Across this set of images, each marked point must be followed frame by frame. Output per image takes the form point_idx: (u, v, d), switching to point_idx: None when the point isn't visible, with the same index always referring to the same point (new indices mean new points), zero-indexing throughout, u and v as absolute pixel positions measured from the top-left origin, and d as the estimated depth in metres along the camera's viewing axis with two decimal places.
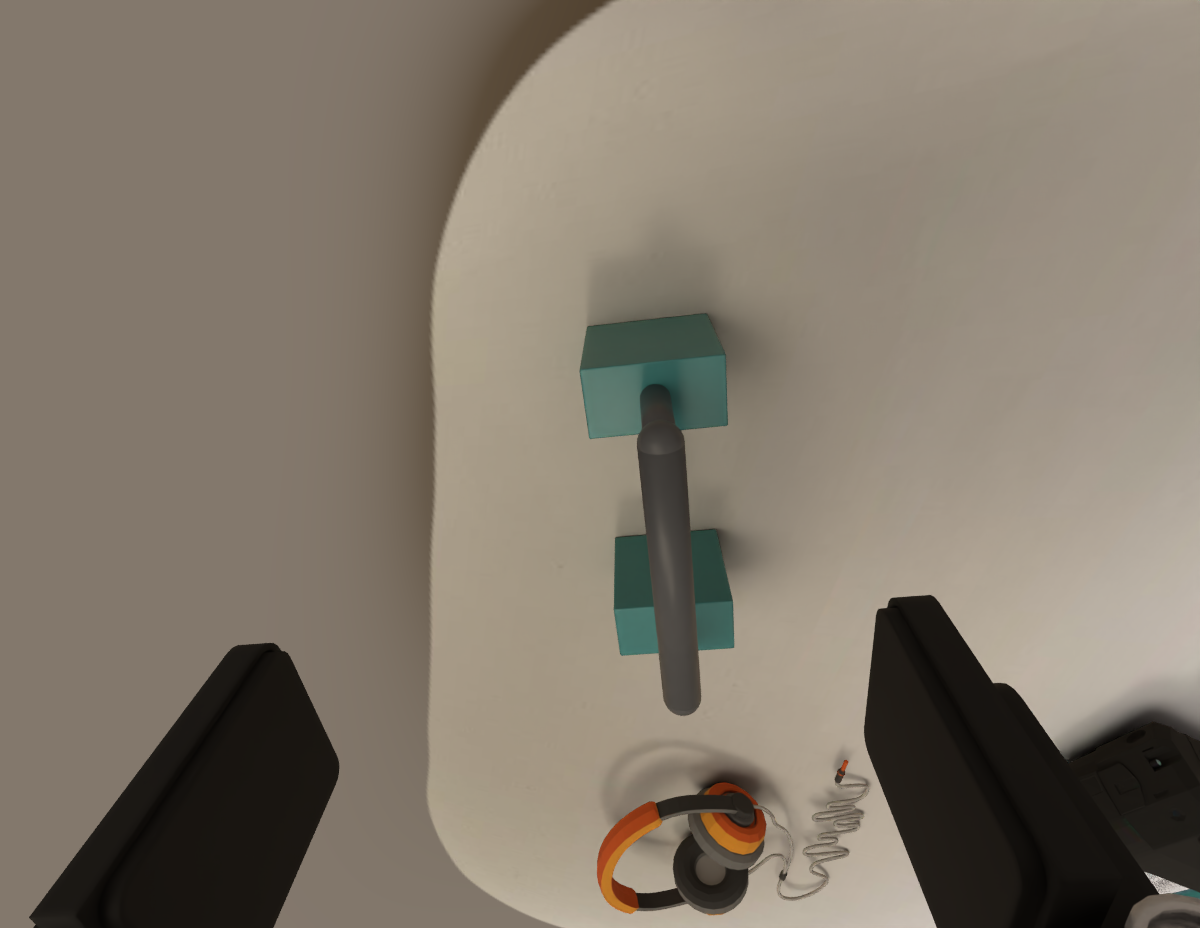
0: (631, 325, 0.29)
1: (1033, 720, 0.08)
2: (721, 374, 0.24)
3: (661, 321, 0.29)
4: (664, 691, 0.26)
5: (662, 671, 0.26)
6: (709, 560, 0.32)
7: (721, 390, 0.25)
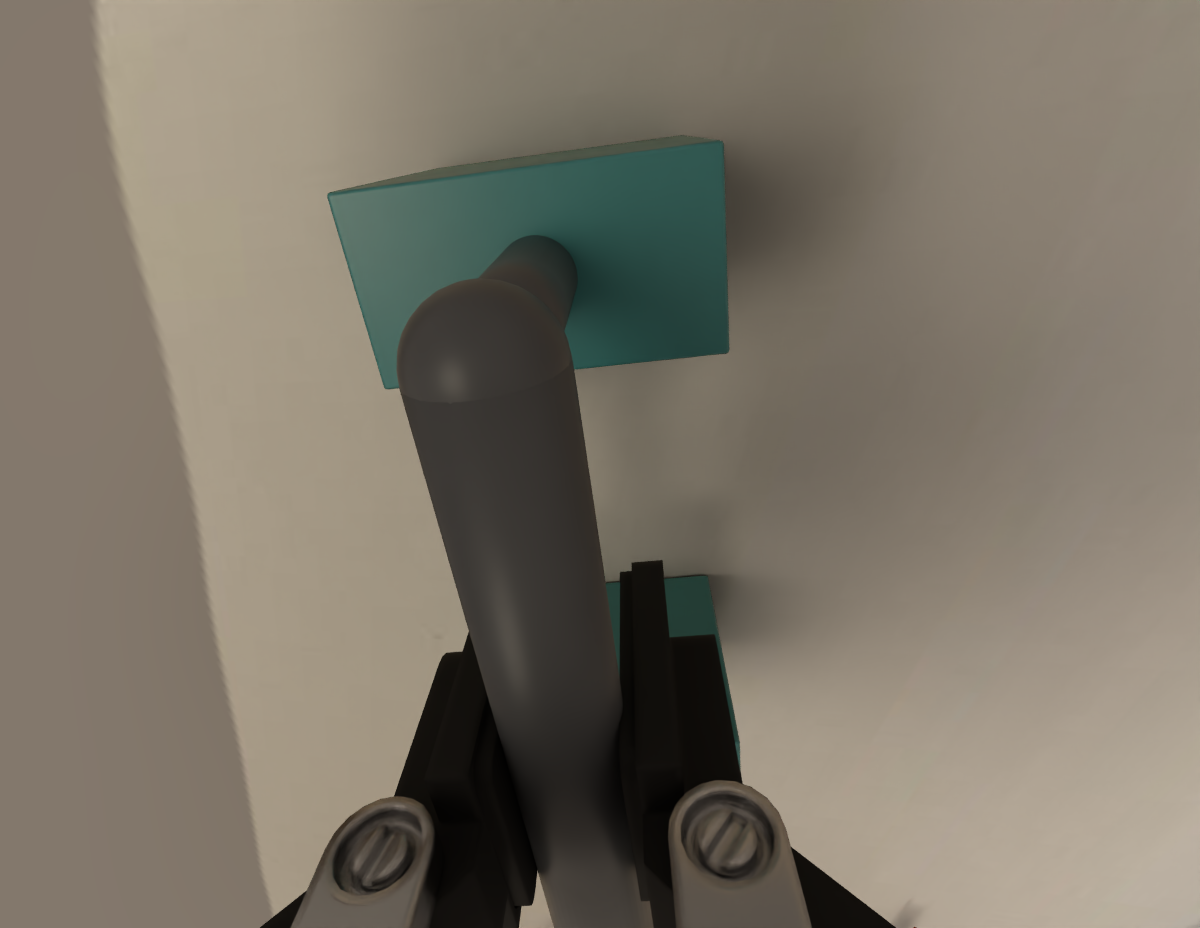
0: (522, 157, 0.13)
1: (718, 661, 0.09)
2: (711, 204, 0.09)
3: (586, 148, 0.13)
4: None
5: None
6: None
7: (712, 253, 0.09)
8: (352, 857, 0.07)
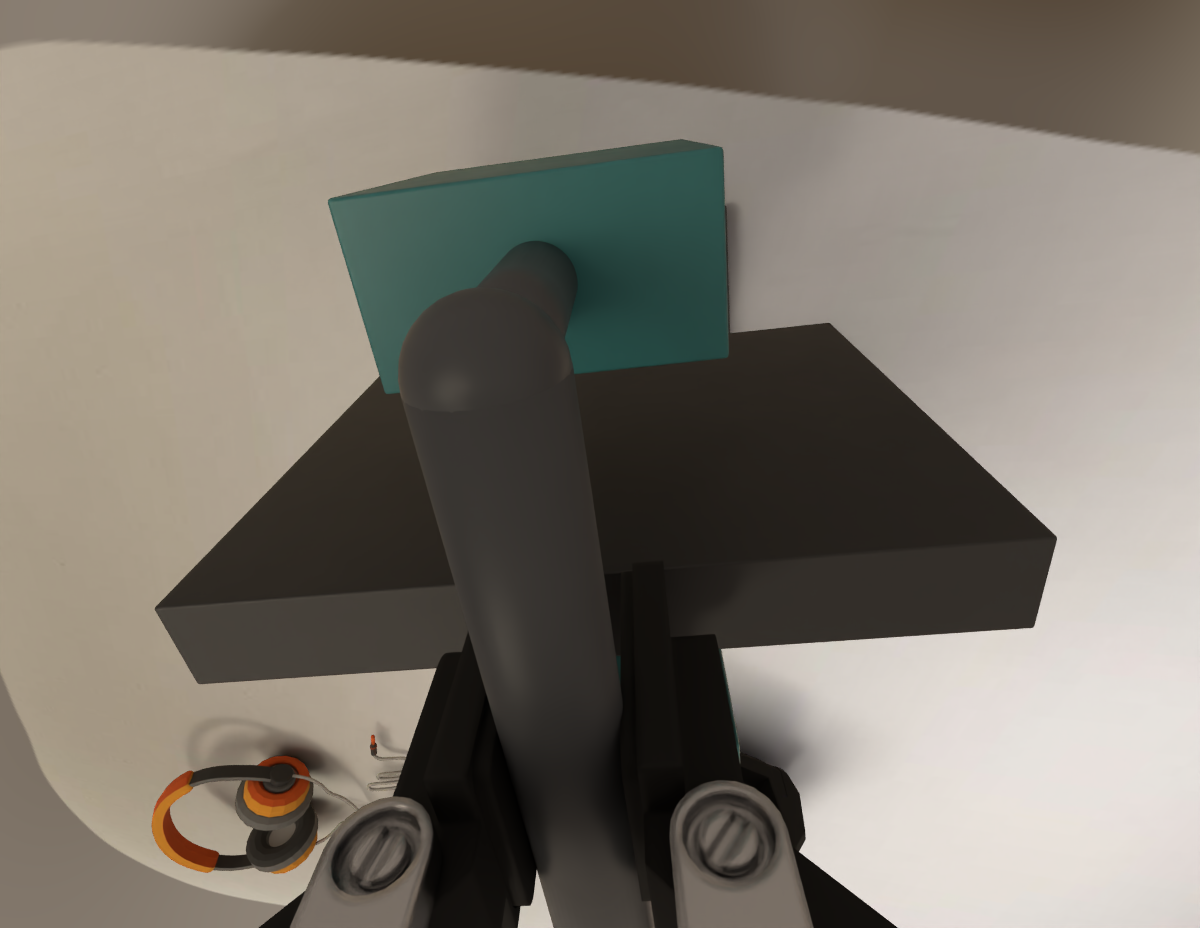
0: (522, 161, 0.14)
1: (718, 661, 0.09)
2: (711, 210, 0.09)
3: (586, 152, 0.13)
4: None
5: None
6: None
7: (712, 258, 0.09)
8: (351, 857, 0.07)
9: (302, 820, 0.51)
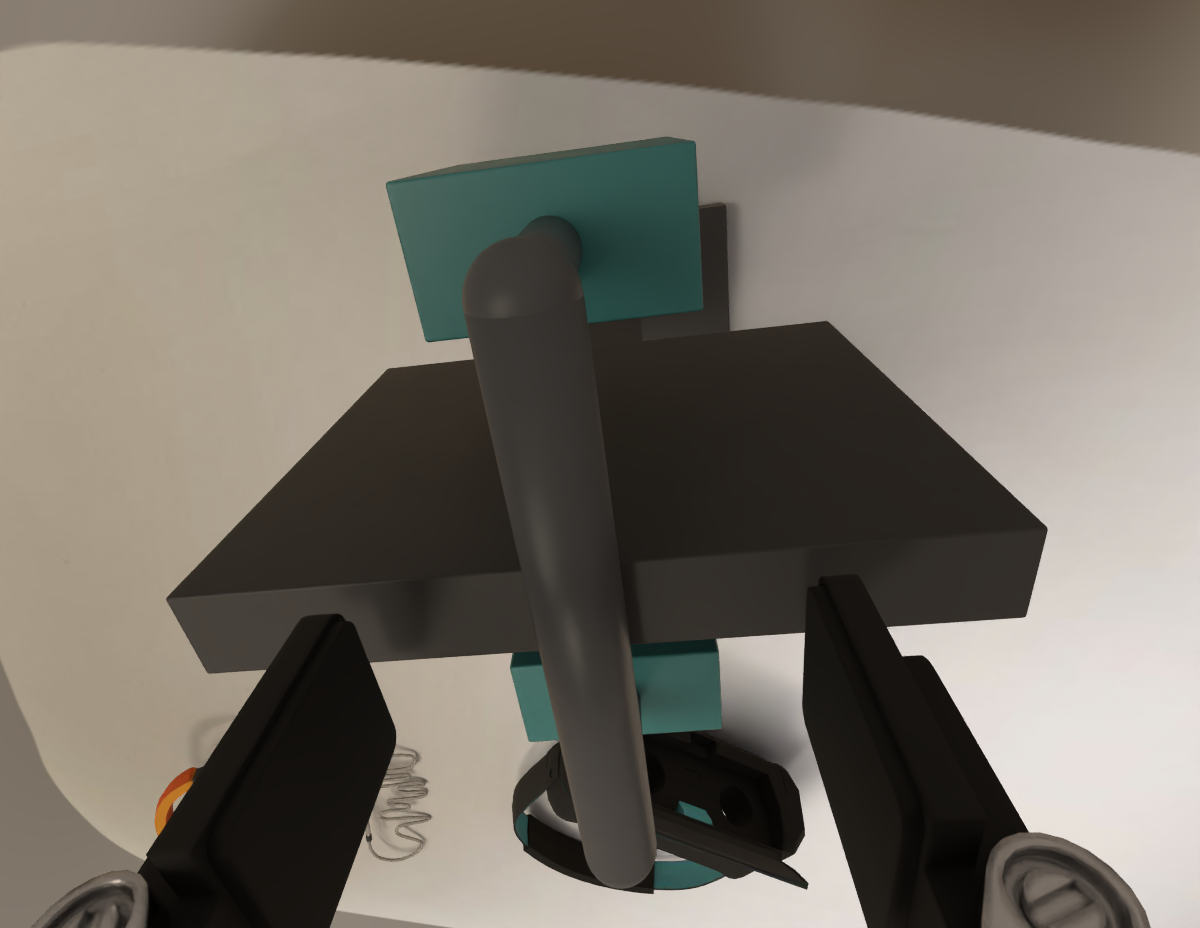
0: (532, 155, 0.16)
1: (941, 687, 0.08)
2: (686, 190, 0.11)
3: (586, 148, 0.16)
4: (583, 843, 0.13)
5: (575, 809, 0.13)
6: None
7: (688, 229, 0.12)
8: None
9: None
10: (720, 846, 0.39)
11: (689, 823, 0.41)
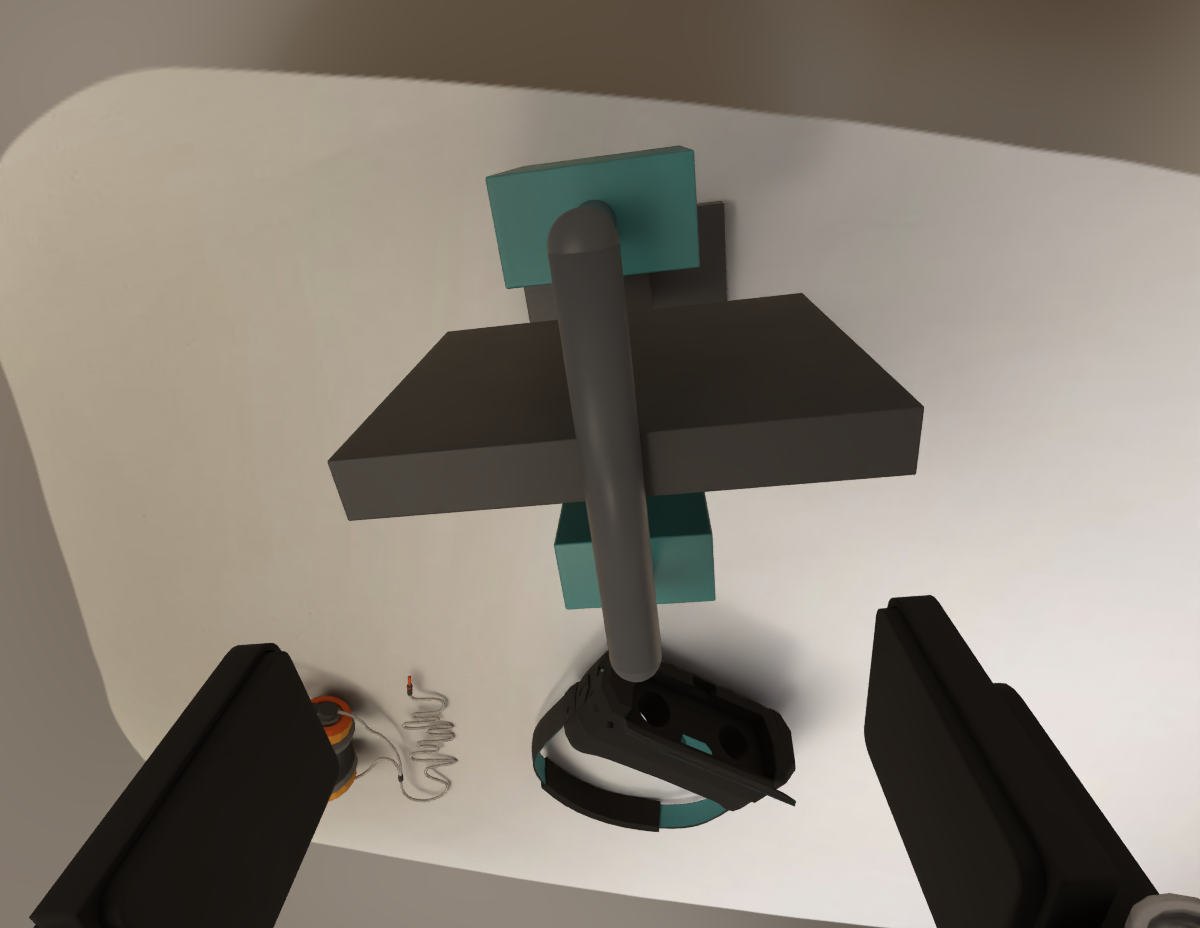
0: (578, 159, 0.22)
1: (1033, 720, 0.08)
2: (688, 183, 0.17)
3: None
4: (609, 646, 0.19)
5: (604, 617, 0.18)
6: None
7: (689, 209, 0.17)
8: None
9: (344, 755, 0.57)
10: (718, 768, 0.44)
11: (691, 751, 0.46)
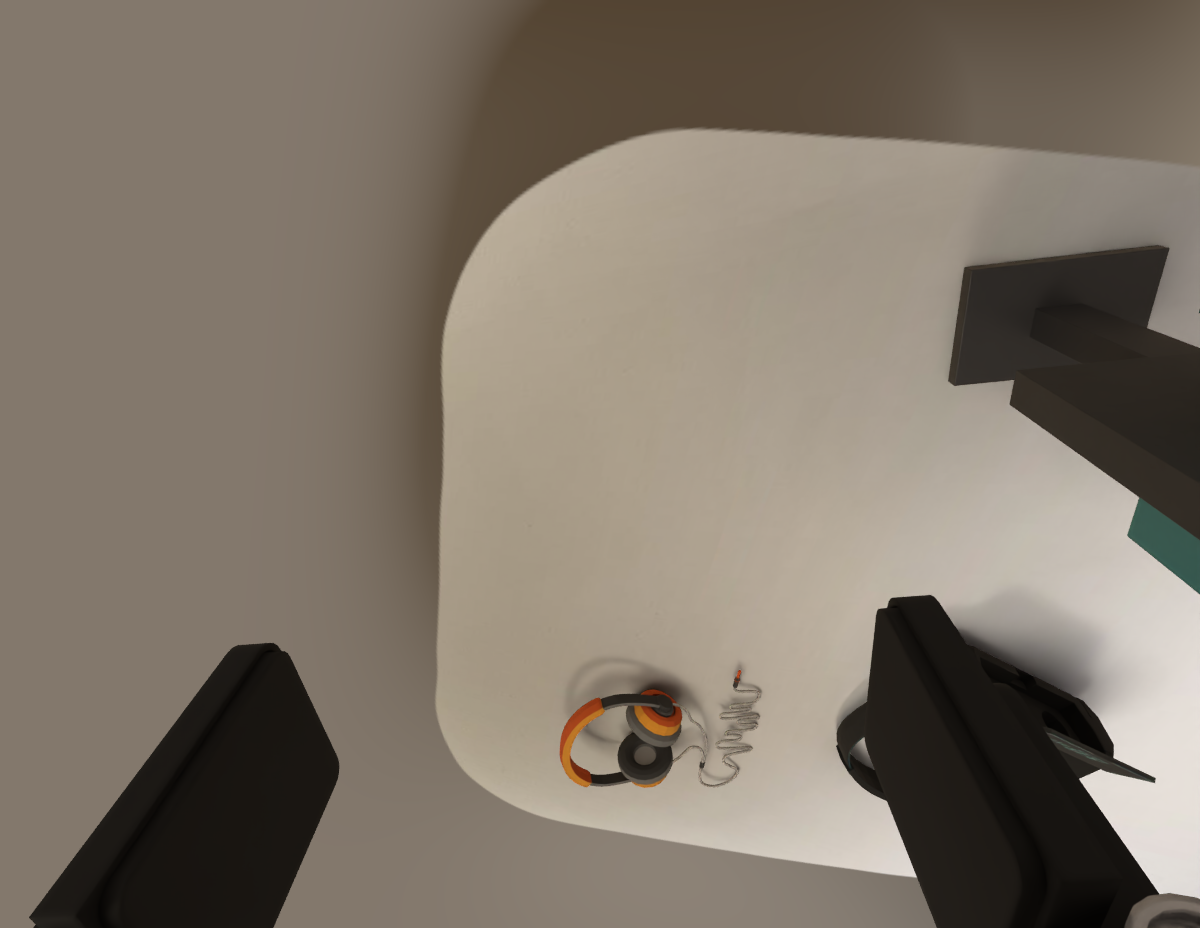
0: None
1: (1033, 720, 0.08)
2: None
3: None
4: None
5: None
6: None
7: None
8: None
9: None
10: None
11: None
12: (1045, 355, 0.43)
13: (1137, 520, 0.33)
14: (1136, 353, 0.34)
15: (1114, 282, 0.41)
